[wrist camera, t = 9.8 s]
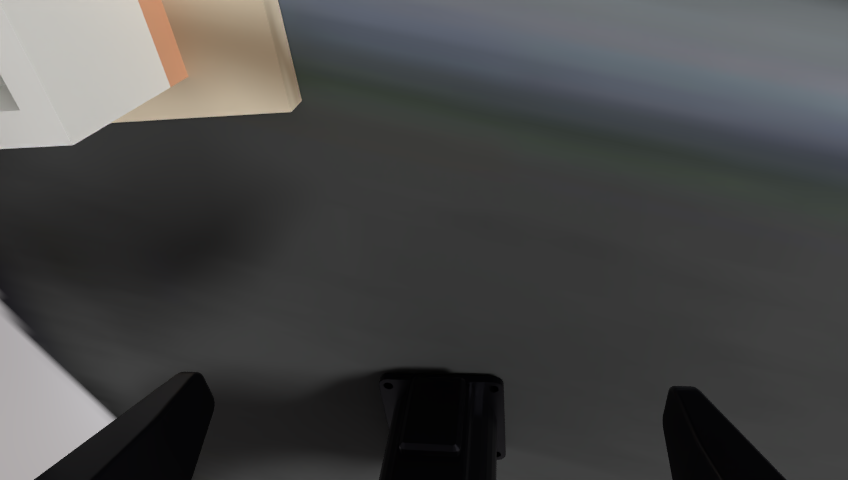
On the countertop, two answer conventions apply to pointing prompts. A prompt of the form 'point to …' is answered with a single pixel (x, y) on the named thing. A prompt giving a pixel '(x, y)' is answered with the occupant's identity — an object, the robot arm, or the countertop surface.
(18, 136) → the banded sleeve
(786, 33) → the countertop surface
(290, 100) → the pin board
